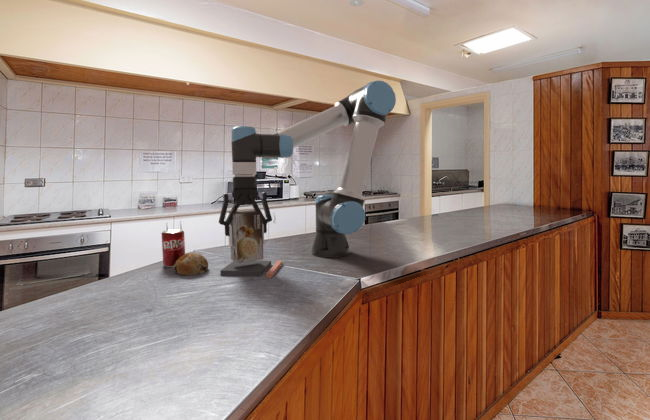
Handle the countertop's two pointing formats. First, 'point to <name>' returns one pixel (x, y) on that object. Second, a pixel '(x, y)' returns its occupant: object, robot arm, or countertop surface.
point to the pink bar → (273, 269)
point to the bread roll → (191, 264)
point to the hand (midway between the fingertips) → (246, 244)
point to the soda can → (172, 246)
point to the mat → (246, 268)
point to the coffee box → (247, 236)
